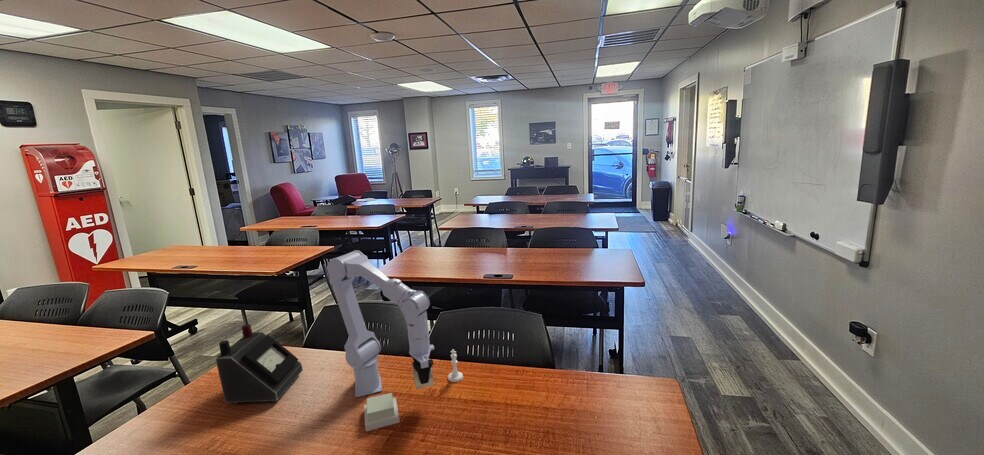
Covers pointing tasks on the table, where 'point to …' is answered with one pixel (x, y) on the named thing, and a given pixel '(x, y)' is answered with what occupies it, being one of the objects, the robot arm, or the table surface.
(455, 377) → the chess piece
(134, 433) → the table surface
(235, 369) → the voltmeter
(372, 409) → the tower top
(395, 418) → the tower base
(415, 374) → the maple cube
